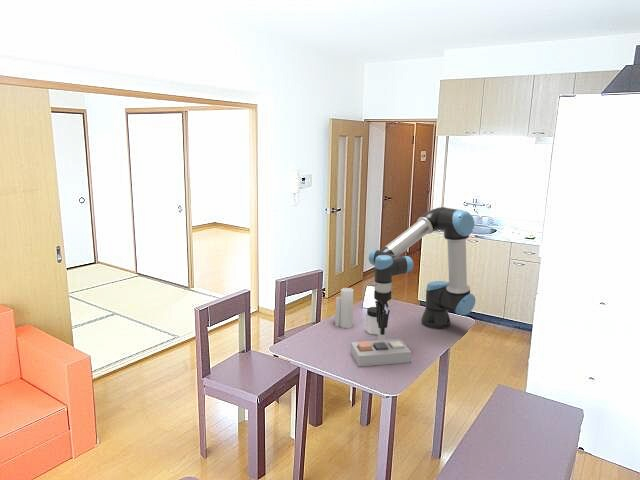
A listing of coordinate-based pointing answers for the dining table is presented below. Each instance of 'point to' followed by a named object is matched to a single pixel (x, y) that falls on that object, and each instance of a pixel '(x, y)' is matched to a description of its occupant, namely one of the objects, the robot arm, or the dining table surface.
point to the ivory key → (396, 345)
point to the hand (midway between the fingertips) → (381, 340)
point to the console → (380, 354)
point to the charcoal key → (380, 346)
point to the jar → (371, 321)
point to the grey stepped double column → (344, 308)
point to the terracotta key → (364, 346)
